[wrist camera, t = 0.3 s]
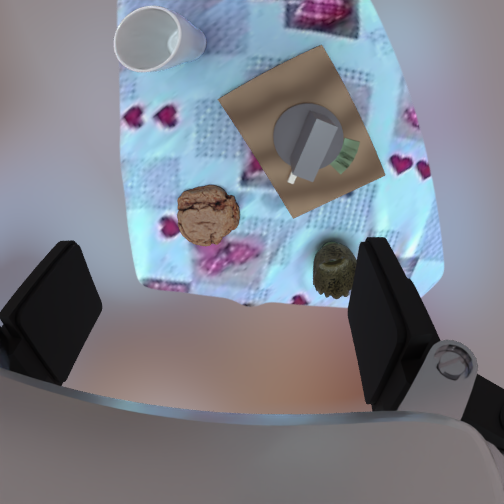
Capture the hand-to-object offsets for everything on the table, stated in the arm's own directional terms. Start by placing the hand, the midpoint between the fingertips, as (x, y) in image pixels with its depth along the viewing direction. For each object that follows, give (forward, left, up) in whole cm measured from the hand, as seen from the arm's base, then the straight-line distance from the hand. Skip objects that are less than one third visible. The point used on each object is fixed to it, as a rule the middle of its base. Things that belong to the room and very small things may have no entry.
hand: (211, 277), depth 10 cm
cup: (+25, -1, -35) cm, 43 cm away
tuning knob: (+7, +3, -33) cm, 34 cm away
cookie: (+10, -15, -36) cm, 40 cm away
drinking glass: (-13, -3, -35) cm, 37 cm away
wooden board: (+6, +4, -35) cm, 36 cm away
